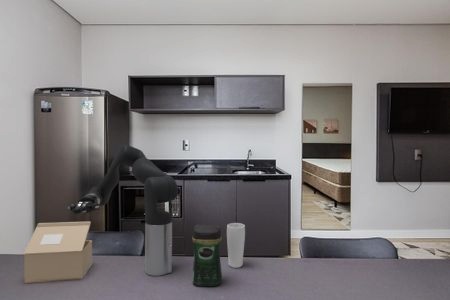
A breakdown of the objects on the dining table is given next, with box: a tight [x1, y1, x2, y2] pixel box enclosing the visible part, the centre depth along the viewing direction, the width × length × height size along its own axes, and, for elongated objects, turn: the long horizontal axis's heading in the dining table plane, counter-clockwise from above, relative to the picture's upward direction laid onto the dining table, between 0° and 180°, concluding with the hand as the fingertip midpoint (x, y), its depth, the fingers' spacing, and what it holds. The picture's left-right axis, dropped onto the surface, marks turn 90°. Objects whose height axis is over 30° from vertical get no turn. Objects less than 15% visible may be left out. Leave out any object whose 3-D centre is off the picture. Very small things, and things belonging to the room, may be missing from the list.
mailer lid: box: [23, 220, 92, 256], centre depth 96 cm, size 17×12×1 cm
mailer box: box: [23, 239, 93, 284], centre depth 98 cm, size 17×12×9 cm
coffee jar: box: [191, 224, 223, 287], centre depth 93 cm, size 10×8×19 cm
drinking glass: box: [226, 222, 246, 269], centre depth 106 cm, size 7×7×15 cm
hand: (76, 211), depth 113 cm, fingers closed
